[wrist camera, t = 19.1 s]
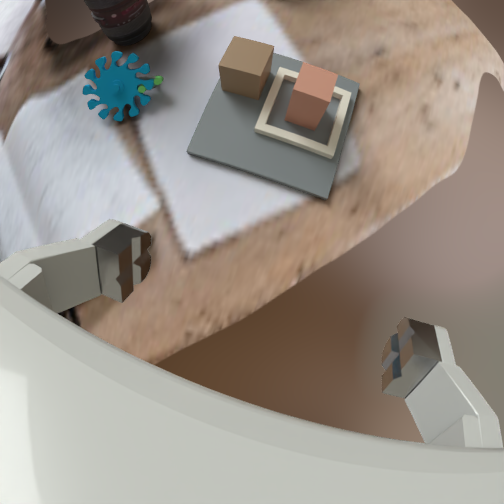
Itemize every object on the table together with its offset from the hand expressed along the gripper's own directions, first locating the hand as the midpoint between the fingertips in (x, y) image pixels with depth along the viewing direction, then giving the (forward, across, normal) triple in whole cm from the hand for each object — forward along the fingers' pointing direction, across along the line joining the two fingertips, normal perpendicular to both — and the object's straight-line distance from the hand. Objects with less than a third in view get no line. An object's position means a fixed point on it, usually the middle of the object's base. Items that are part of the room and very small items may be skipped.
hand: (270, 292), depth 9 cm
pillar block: (+34, -4, +2) cm, 34 cm away
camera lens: (+36, -34, +11) cm, 50 cm away
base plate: (+34, -7, +1) cm, 34 cm away
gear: (+30, -27, 0) cm, 40 cm away
